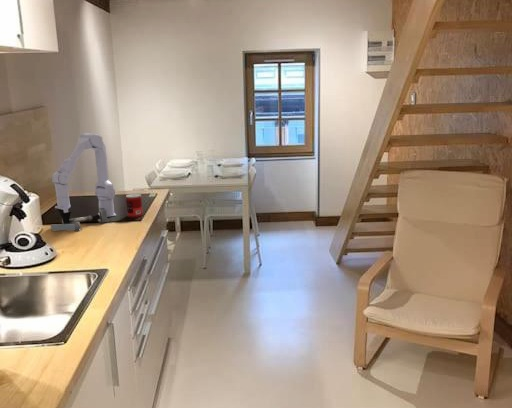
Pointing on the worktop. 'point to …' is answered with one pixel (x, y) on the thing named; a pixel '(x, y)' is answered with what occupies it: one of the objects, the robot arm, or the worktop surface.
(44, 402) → the worktop surface
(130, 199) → the canned food
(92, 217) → the hook rod
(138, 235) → the worktop surface
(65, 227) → the grey lever bar
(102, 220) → the eye bracket
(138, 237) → the worktop surface
